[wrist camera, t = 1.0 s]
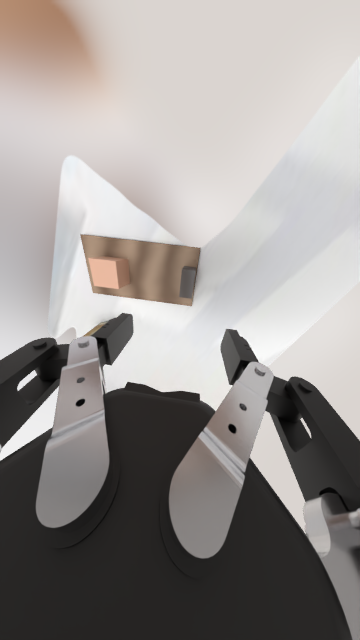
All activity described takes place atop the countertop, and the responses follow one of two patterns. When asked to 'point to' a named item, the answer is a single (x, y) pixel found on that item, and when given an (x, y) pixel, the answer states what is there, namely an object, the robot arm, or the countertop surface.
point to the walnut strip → (148, 268)
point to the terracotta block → (109, 272)
